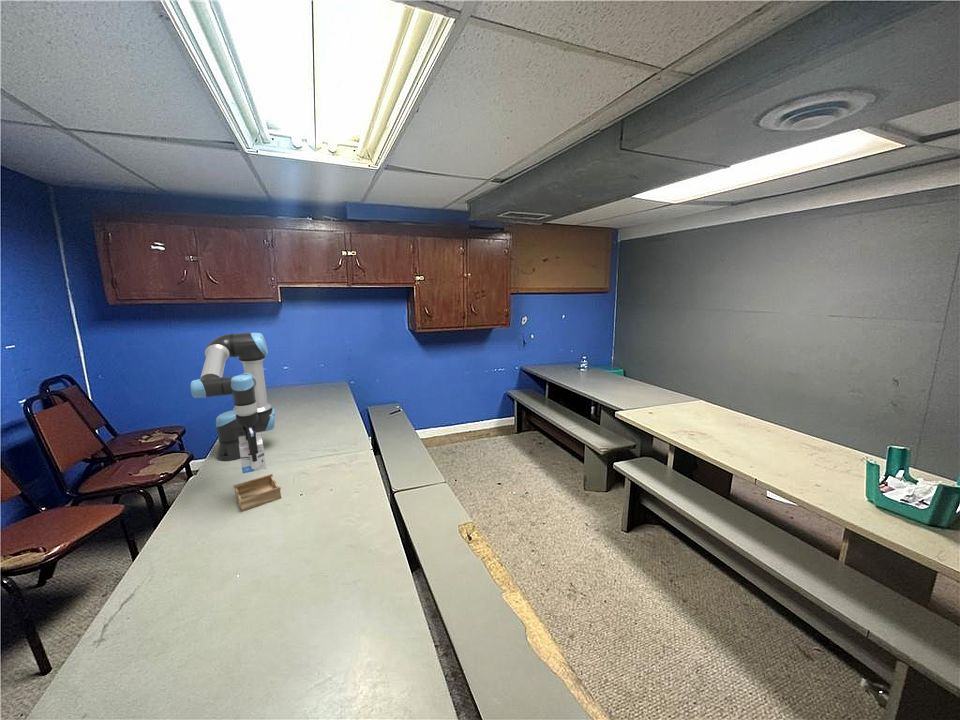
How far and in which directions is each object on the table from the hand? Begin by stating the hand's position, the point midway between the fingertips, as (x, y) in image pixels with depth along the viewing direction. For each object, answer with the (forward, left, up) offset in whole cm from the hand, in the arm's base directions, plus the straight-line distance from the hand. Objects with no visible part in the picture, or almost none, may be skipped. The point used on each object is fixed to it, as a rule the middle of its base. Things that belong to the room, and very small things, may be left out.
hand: (253, 464), depth 154 cm
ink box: (0, 0, -2) cm, 2 cm away
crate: (0, 0, -15) cm, 15 cm away
